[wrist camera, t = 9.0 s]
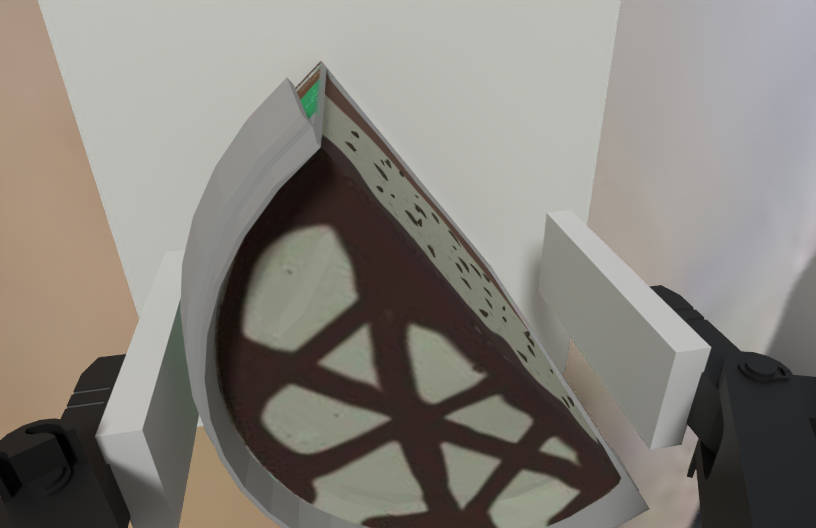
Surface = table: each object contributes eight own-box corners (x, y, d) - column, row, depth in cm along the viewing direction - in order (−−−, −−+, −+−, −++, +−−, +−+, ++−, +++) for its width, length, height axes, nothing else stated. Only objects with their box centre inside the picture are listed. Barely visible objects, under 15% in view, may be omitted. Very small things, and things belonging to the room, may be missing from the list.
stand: (530, 319, 28) (564, 373, 25) (189, 363, 26) (174, 430, 22) (570, -58, 20) (628, -56, 16) (76, -43, 18) (26, -36, 14)
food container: (127, 157, 17) (-31, 386, 8) (284, 16, 16) (288, 110, 7) (386, 382, 23) (448, 647, 14) (511, 291, 22) (659, 518, 13)
